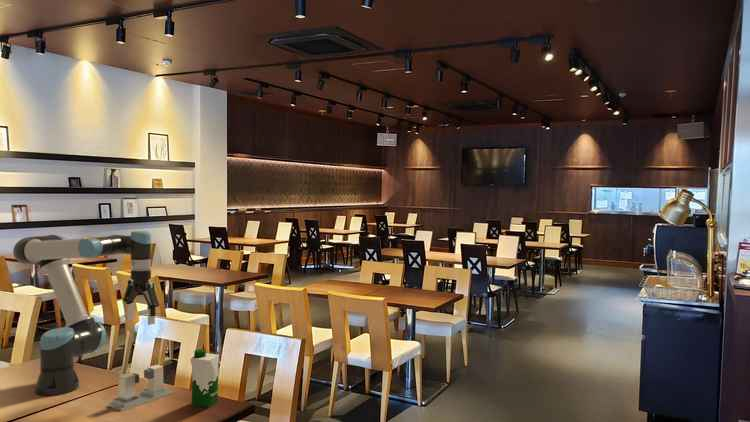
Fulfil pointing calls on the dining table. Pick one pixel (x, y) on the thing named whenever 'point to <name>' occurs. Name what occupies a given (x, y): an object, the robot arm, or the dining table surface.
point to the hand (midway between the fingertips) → (140, 321)
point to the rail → (139, 399)
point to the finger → (154, 378)
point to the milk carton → (204, 378)
